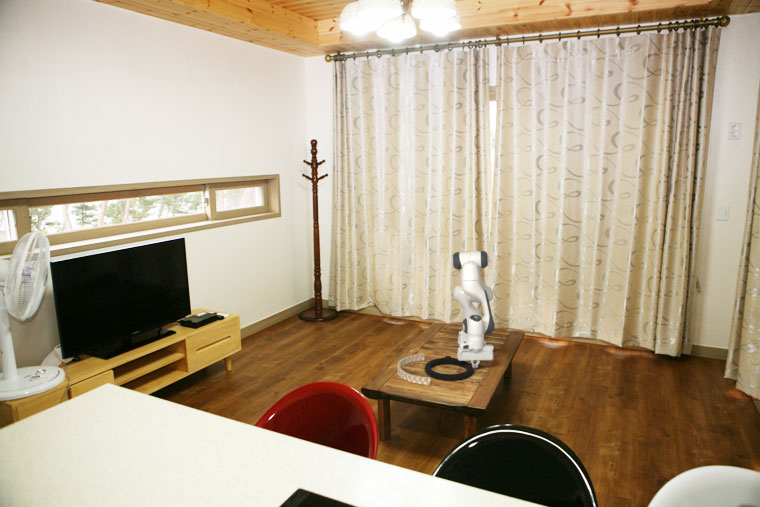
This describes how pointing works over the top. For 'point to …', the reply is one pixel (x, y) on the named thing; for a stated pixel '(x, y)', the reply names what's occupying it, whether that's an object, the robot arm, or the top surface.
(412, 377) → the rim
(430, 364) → the cable lock
